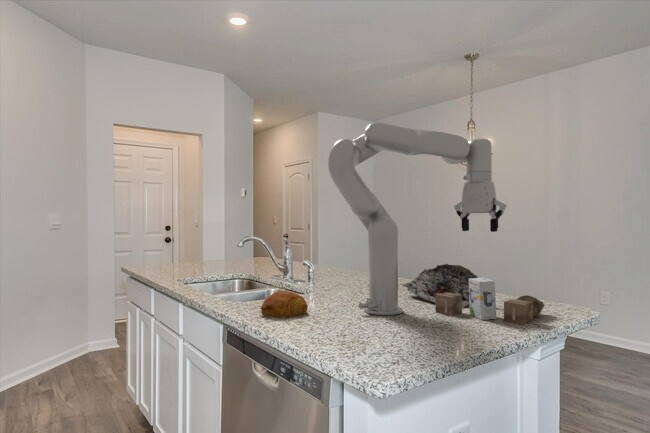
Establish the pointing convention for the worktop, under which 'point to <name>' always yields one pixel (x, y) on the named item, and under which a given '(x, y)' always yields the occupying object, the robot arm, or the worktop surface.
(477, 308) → the ink box
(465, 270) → the bark piece
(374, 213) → the robot arm
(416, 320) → the worktop surface
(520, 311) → the walnut block
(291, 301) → the croissant
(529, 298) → the stone
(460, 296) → the cardboard box
